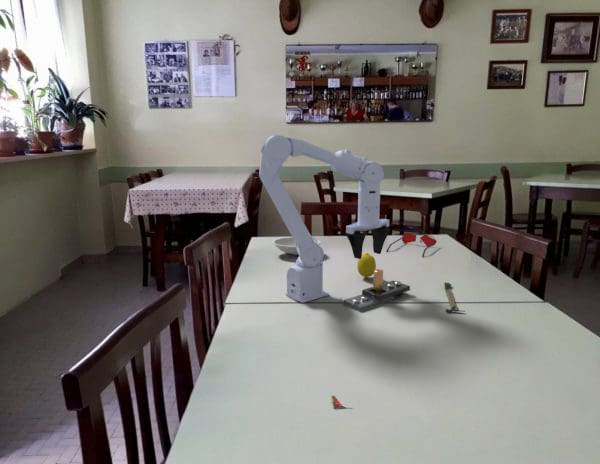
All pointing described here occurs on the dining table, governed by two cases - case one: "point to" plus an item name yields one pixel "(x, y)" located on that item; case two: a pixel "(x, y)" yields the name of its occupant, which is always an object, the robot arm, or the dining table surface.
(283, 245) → the dish
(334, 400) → the matchbox
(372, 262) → the lemon
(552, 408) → the dining table surface
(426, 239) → the glasses
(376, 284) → the copper pin
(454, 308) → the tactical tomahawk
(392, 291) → the chain joint
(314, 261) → the robot arm
